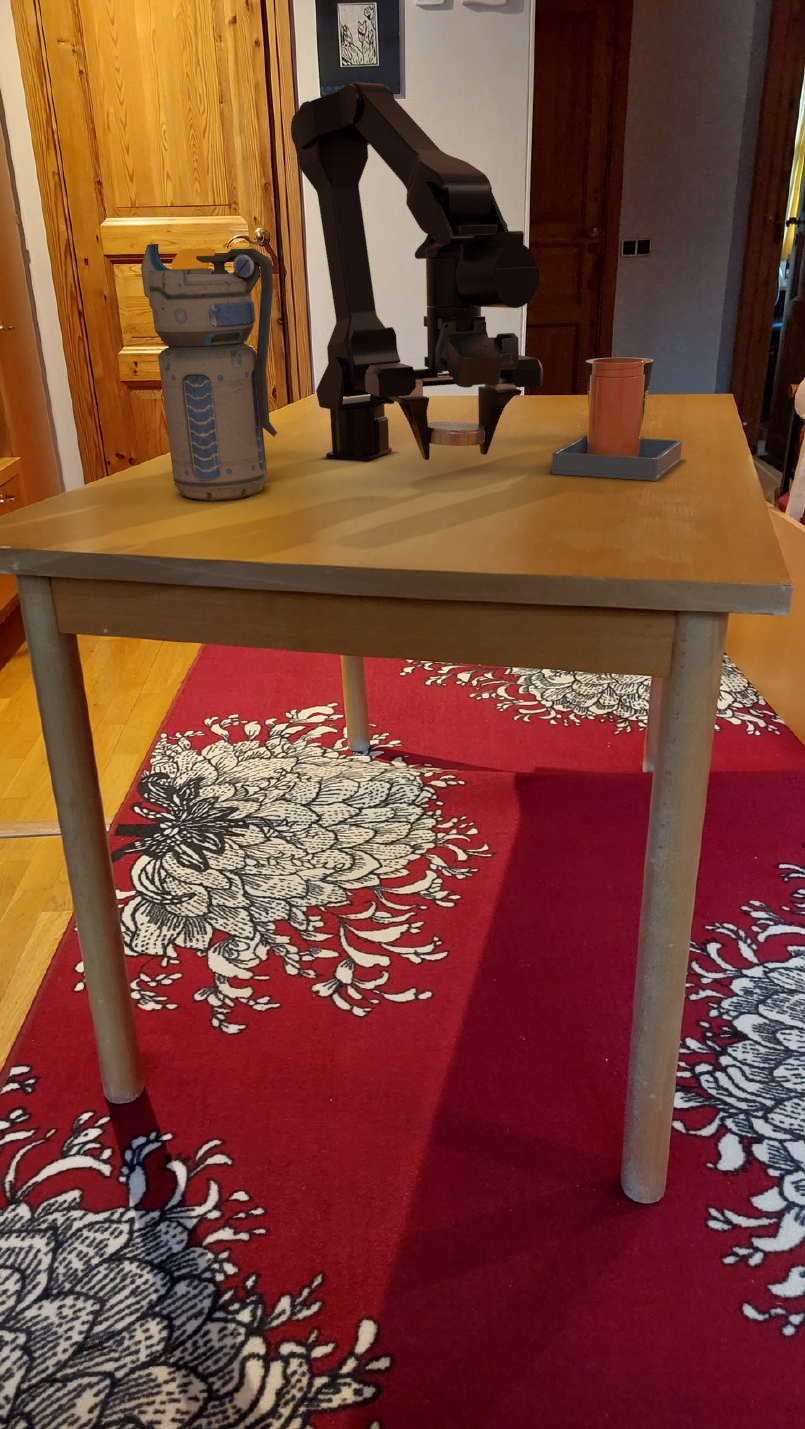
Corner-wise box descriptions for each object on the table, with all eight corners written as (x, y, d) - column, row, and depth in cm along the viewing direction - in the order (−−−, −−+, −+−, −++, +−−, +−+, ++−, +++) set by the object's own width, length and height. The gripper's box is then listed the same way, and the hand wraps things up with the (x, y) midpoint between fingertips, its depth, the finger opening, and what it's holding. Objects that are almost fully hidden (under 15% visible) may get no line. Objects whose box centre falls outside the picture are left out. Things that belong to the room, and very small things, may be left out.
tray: (551, 474, 113) (552, 452, 112) (583, 455, 122) (584, 435, 121) (656, 481, 108) (657, 459, 107) (680, 460, 117) (682, 440, 116)
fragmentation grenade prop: (278, 503, 103) (256, 240, 92) (157, 504, 105) (121, 244, 94) (298, 482, 112) (279, 240, 102) (185, 483, 114) (156, 244, 103)
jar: (608, 472, 111) (615, 364, 106) (575, 463, 116) (580, 360, 111) (649, 465, 113) (657, 360, 108) (615, 457, 118) (621, 356, 113)
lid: (486, 447, 106) (487, 431, 106) (422, 445, 106) (422, 428, 106) (482, 438, 113) (483, 422, 112) (422, 435, 113) (422, 420, 112)
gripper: (392, 313, 94) (397, 478, 100) (569, 305, 99) (562, 462, 105) (360, 309, 103) (367, 459, 110) (523, 301, 108) (519, 445, 115)
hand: (454, 456), depth 110 cm, fingers closed on lid, 6 cm apart
